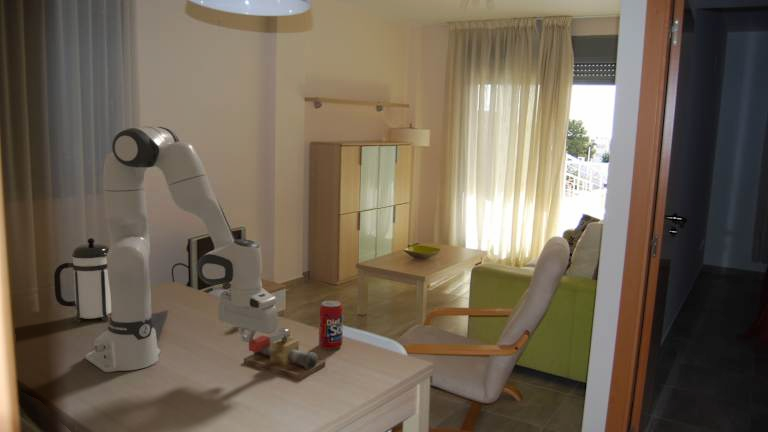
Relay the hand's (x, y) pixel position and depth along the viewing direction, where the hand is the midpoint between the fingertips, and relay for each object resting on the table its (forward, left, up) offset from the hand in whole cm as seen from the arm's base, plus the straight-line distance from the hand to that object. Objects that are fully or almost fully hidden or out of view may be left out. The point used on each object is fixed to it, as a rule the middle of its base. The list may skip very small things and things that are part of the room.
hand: (247, 341), depth 167 cm
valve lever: (+5, +5, -1) cm, 7 cm away
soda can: (+8, +31, -10) cm, 33 cm away
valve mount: (+5, +11, -10) cm, 15 cm away
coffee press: (-80, +3, -10) cm, 81 cm away
